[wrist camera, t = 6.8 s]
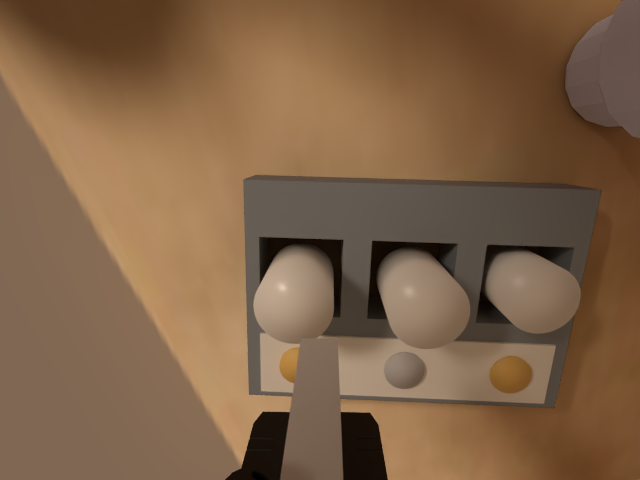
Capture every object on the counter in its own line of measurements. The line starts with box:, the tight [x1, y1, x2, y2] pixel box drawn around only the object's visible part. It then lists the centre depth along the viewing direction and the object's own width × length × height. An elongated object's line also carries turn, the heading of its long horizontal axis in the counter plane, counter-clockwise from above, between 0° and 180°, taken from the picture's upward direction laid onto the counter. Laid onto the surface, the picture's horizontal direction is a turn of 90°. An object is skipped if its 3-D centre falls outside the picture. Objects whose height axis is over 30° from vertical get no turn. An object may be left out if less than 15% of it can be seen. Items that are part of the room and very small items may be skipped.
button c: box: [480, 245, 581, 334], centre depth 27 cm, size 5×5×6 cm
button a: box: [253, 243, 334, 344], centre depth 25 cm, size 5×5×6 cm
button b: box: [376, 247, 470, 349], centre depth 24 cm, size 5×5×6 cm
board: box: [244, 175, 602, 408], centre depth 28 cm, size 24×17×4 cm
